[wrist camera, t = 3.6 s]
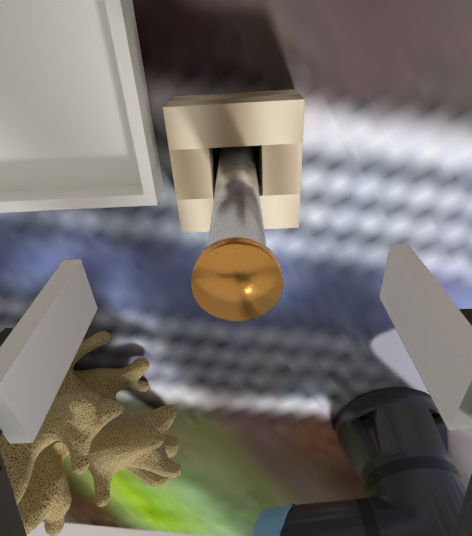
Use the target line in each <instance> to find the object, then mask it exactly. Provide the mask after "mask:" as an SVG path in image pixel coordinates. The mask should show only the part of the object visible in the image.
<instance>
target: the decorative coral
mask: <svg viewBox="0 0 472 536" xmlns="http://www.w3.org/2000/svg"><path fill="white" fill-rule="evenodd" d="M110 340H111V334H110V333H109V332H108V331H100V332H97V333H95V334H94V335H92V336H91V337H89V338H87V339H83V340H82V342H81V344H80V347H79V349H78V351H77V353H76V355H75V357H74V359H73V361H72V363H71V365H70V367H69V369H68V371H67V374H66V376H65V378H64V380H63V382H62V384H61V386H60V388H59V390H58V392H57V394H56V396H55V398H54V401H53V403H52V405H51V407H50V409H49V411H48V413H47V415H46V417H45V419H44V421H43V423H42V426H41V428H40V430H39V432H38V434H37V436H36V438H35V440H34V442H33V443H15V444H10V443H9V442H8V441H7V439H6V438H5V436H4V435H3V433H2V434H1V436H0V452H1V455H2V458H3V462H4V465H5V468H6V471H7V474H8V477H9V481H10V484H11V487H12V490H13V493H14V497H15V500H16V503H17V506H18V509H19V512H20V516H21V519H22V522H23V525H24V528H25V532H26V535H28V534H29V533H30V532H32V531H33V530H34V529H35V528H36V527H37V526H38V525H39V524H40V523H41V521H42V520H43V519H45V530H46V533H47V534H49V535H50V536H55V535H57V534H58V533H60V532H61V530H62V528H63V525H64V515H65V513H66V512H67V510H68V509H69V507H70V504H71V495H70V490H69V486H68V482H67V478H66V474H65V471H64V467H63V460H64V458H65V457H66V456H67V455H68V454H69V453H70V455H71V464H72V470H73V472H74V473H75V474H82V473H84V472H86V470H87V469H89V471H90V472H91V474H92V476H93V478H94V486H95V502H96V503H97V505H98V506H100V507H102V506H105V505H106V504H107V503H108V501H109V498H110V492H109V489H110V482H111V480H112V477H113V475H114V474H115V473H116V472H119V471H121V470H123V469H125V470H127V471H128V472H130V473H132V474H133V475H135V476H136V477H137V478H138V479H139V480H141V481H142V482H143V483H144V484H146V485H148V486H151V487H160V486H164V485H165V484H166V483H167V482H168V478H174V477H177V476H179V475H180V473H181V466H180V465H179V464H177V463H175V462H173V461H172V460H170V459H169V458H171V457H173V456H174V455H175V454H176V453H177V451H178V448H179V442H178V439H177V438H175V437H173V436H170V435H167V434H165V433H166V432H167V430H168V429H169V427H170V425H171V424H172V422H173V421H174V419H175V416H176V409H175V408H174V407H173V406H172V405H164V406H162V407H159V408H157V409H155V410H152V411H150V412H147V413H144V414H140V415H134V414H131V413H130V412H129V410H128V409H127V408H126V407H125V405H123V404H122V403H120V402H118V401H117V400H116V398H115V396H116V393H117V392H118V391H120V390H121V389H131V390H135V391H139V392H146V391H147V390H148V389H149V384H148V383H147V382H146V381H142V380H139V379H140V378H141V377H142V376H143V374H144V373H145V372H146V371H147V370H148V368H149V362H148V361H147V359H145V358H138V359H136V360H135V361H134V362H133V363H132V364H130V365H128V366H126V367H124V368H121V369H116V368H95V369H88V370H73V367H74V365H75V363H76V362H77V361H78V360H79V359H80V358H81V357H83V356H84V355H85V354H87V353H88V352H90V351H92V350H94V349H95V348H98V347H100V346H103V345H106V344H107V343H108V342H109V341H110Z"/></svg>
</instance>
